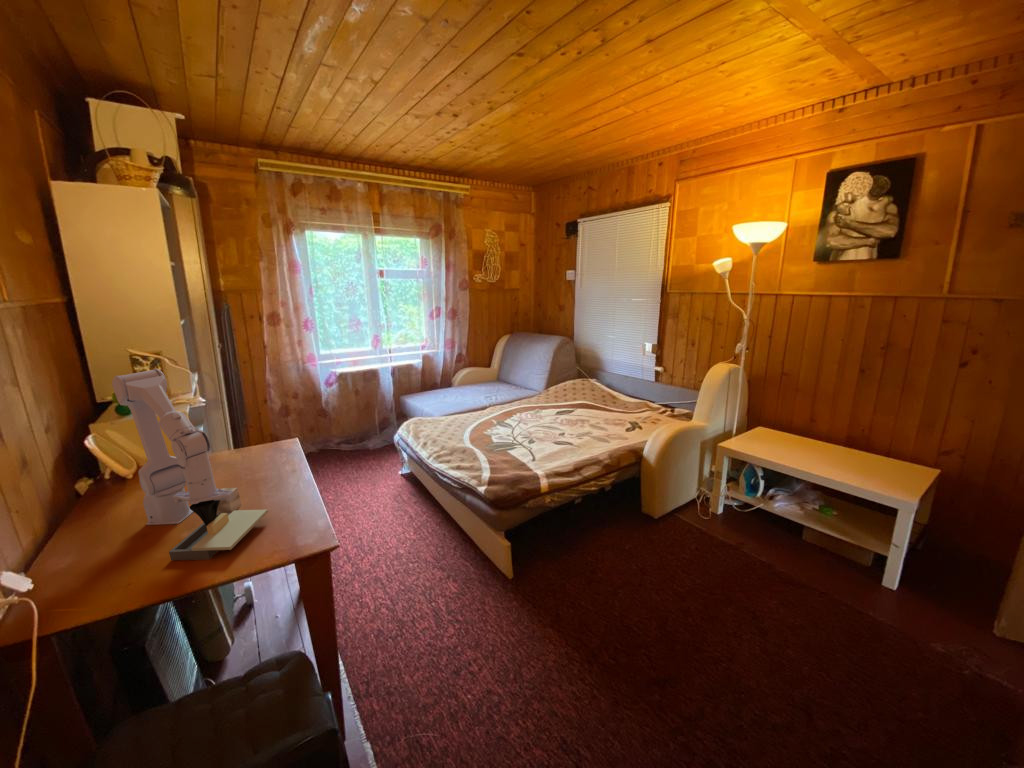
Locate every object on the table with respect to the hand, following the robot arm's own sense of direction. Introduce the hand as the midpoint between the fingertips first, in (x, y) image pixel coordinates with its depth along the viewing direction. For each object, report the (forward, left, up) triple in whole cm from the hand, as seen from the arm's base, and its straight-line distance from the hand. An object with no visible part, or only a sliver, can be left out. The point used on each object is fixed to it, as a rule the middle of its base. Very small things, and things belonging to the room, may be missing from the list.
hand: (211, 524), depth 111 cm
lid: (+5, 0, -2) cm, 6 cm away
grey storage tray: (-1, 0, -4) cm, 4 cm away
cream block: (-6, +15, -4) cm, 16 cm away
